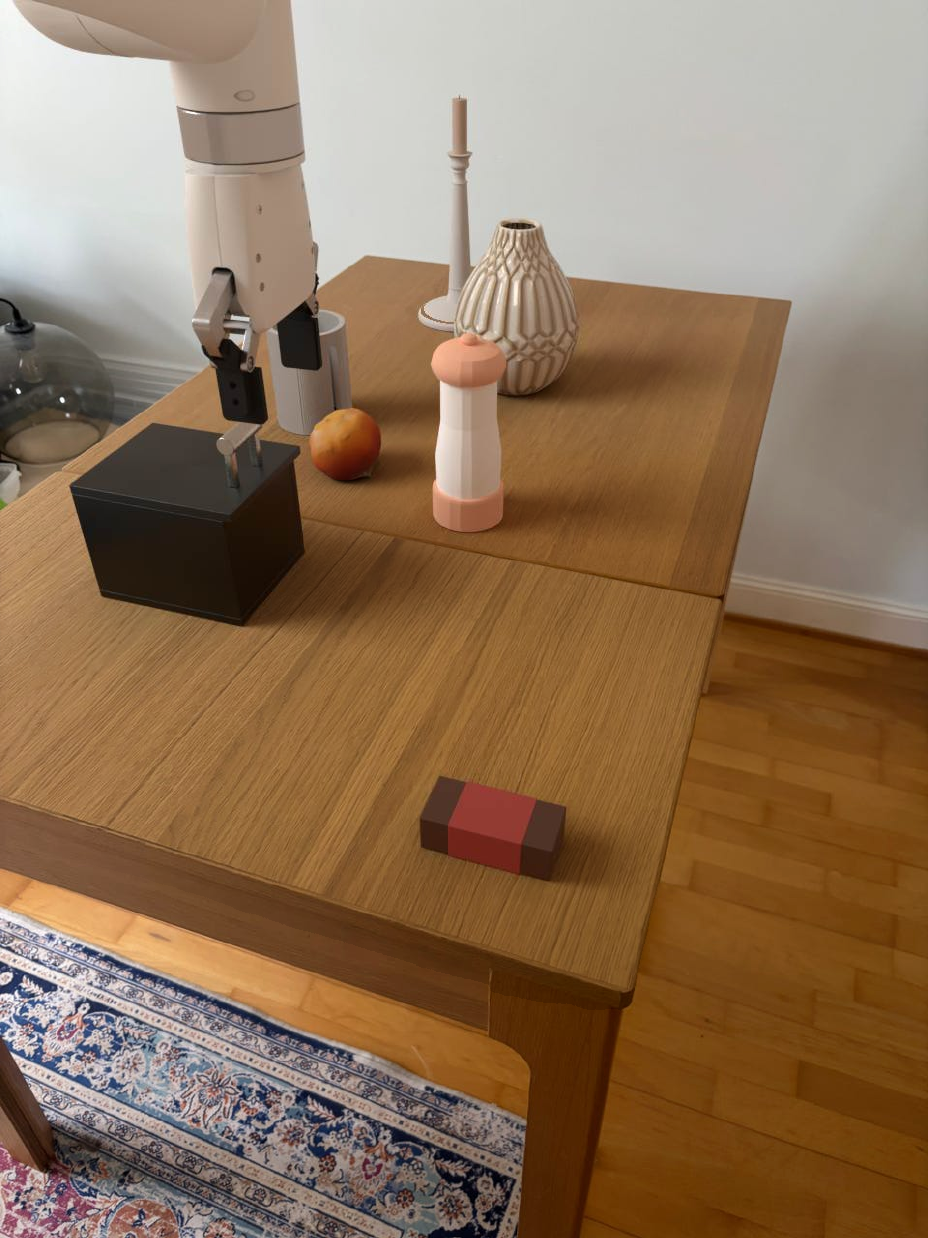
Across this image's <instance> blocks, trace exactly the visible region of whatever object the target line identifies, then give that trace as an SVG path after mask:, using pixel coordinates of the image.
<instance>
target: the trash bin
mask: <svg viewBox="0 0 928 1238" xmlns="http://www.w3.org/2000/svg"><path fill="white" fill-rule="evenodd" d="M71 498H72V500H73V503H74V507H75V511H76V515H77V518H78V522H79V524H80V528H81V532H82V535H83V539H84V542H85V545H86V549H87V552H88V556H89V559H90V563H91V566H92V570H93V573H94V576H95V581H96V583H97V587H98V589H99V593H100V596H101V597H102V598H108V599H112V600H117V601H120V602H126V603H131V604H135V605H140V606H145V607H149V608H155V609H158V610H164V611H167V612H168V611H169V612H173V613H176V614H177V613H178V614H182V615H187V616H192V617H196V618H200V619H205V620H211V621H215V622H219V623H225V624H229V625H233V626H238V627H243V626H244V625H245V624H246V623H247V622H248V621H249V619H250V618H251V617H252V616H253V615H254V614H255V612H256V611H257V610H258V609H259V608H260V606H261V605H262V604H263V603H264V601H265V600H266V599H267V598H268V597H269V595H271V593H272V592H273V591H274V590H275V588H276V587H277V586H278V585H279V584H280V583H281V581H282V580H283V579H284V578H285V577H286V576H287V574H288V573H289V572H290V570H291V569H292V568H294V566H295V564H297V562H298V561H299V560H300V559H301V557H302V556H303V555H304V554H305V553H306V549H305V541H304V540H305V539H304V533H303V532H304V531H303V523H302V515H301V509H300V508H301V507H300V499H299V492H298V484H297V476H296V469H295V460H294V461H293V462H292V463H291V464H290V465H289V466H288V467H287V468H286V469H285V470H284V471H283V472H282V473H281V474H280V475H279V476H278V477H277V478H276V479H275V480H274V481H273V482H272V483H271V484H270V485H269V486H268V487H267V488H266V489H265V490H264V491H263V492H262V493H261V494H260V495H259V496H258V497H257V498H256V499H255V500H254V501H253V502H252V503H251V504H250V505H249V506H248V507H247V508H246V509H245V510H244V511H243V512H242V513H241V514H240V515H239V516H238V517H237V518H236V519H235V520H234V521H233V522H232V523H231V522H225V521H220V520H214V519H209V518H204V517H198V516H193V515H187V514H182V513H176V512H171V511H166V510H160V509H155V508H149V507H144V506H138V505H133V504H128V503H122V502H117V501H111V500H106V499H100V498H95V497H90V496H84V495H79V494H73V493H71Z"/></svg>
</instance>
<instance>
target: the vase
mask: <svg viewBox="0 0 928 1238" xmlns="http://www.w3.org/2000/svg"><path fill="white" fill-rule="evenodd" d="M573 292H574V291H573V290H572V286H571V285H570V282H569V280H568V278H567V276H566V275H565V272H564V271H563V268H562V267H561V266H560V263H558V261H557V260H556V258H555V256H554V255H553V254H552V252H551V250H550V249H549V246H548V243H547V239H546V236H545V231H544V227H543V225H542V223H541V222H539V221H537V220H534V219H530V218H518V217H517V218H516V217H515V218H508V219H503V220H500V221H499V222H498V223H497V224H496V226H495V229H494V231H493V235H492V238H491V241H490V243H489V246H488V248H487V250H486V251H485V253H484V254H483V256H481V258H480V259H479V261H478V262H477V263H476V265H475V266H474V268H473V269H472V270H471V274H470V276H469V277H468V279H467V281H466V283H465V285H464V287H463V289H462V292H461V294H460V297H459V300H458V304H457V308H456V312H455V317H454V332H453V337H454V338H458V337H461V336H462V335H463V334H465V333H473V334H475V335H476V337H480V338H483V339H486V340H489V341H492V342H494V343H496V344H497V345H498V346H499V347H500V349H501V350H502V352H503V353H504V355H505V359H506V368H505V371H504V373H503V375H502V377H501V378H500V379H499V380H498V381H497V394H500V395H505V396H506V395H507V396H524V395H525V396H526V395H531V394H535V393H537V392H540V391H542V390H543V389H545V388H547V387H548V386H549V385H552V383H554V382H555V381H556V380H557V379H558V378H559V377H560V376H562V374H563V373H564V371H565V370H566V368H567V367H568V365H569V364H570V361H571V360H572V358H573V355H574V354H575V351H576V350H575V349H576V347H577V344H578V343H577V342H578V338H579V331H580V321H579V313H578V307H577V302H576V299H575V296H574V293H573ZM454 338H453V339H454Z"/></svg>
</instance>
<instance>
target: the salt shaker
mask: <svg viewBox="0 0 928 1238" xmlns="http://www.w3.org/2000/svg"><path fill="white" fill-rule="evenodd" d="M430 367H431V369H432V372H433V373H434V375H435V377H436V379H437V380H438V381H439V413H440V414H439V416H440V417H439V418H440V420H439V427H438V434H437V440H436V446H435V452H434V459H435V462H434V463H435V477H436V478H435V479H434V481H433V483H432V484H433V485H432V517H433V519H434V521H435V522H436V523H437V524H438V525H440V526H441V527H444V528H446V529H447V530H450V531H456V532H459V533H475V532H483V531H486V530H490V529H492V528H494V527H495V526H497V525H498V524H499V523H500V522H501V521H502V520H503V517H504V493H505V492H504V487H505V485H504V482H503V481H502V479H501V468H502V455H503V454H502V451H503V450H502V446H501V445H502V444H501V439H500V430H499V425H498V417H497V416H498V415H497V414H498V411H497V410H498V393H497V381H498V380H499V379H500V378H501V377H502V375H503V373H504V371H505V368H506V359H505V355H504V353H503V352H502V350H501V349H500V347H499V346H498V345H497V344H496V343H494V342H492V341H489V340H486V339H483V338H480V337H476V335H475V334H473V333H465V334H463V335H462V336H461V337H458V338H450V339H449V340H446V341H443V342H441V343H440V344H439V345H438V346H437V347H436V349H435V350H434V351H433V355H432V359H431V362H430Z"/></svg>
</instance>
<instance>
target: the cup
mask: <svg viewBox="0 0 928 1238" xmlns="http://www.w3.org/2000/svg"><path fill="white" fill-rule="evenodd" d="M312 317H315V318H318V324H319V335H320V345H321V356H322V367H321V368H320V369H319V370H317V371H313V370H304V369H296V368H287V367H284V366H283V365H282V363H281V355H280V347H279V338H278V330H277V324H276V325H274V326H273V327H272V328H270V329H269V330H267V331H266V332H265V334H266V340H267V341H266V342H267V349H268V350H267V351H268V356H269V362H270V372H271V379H272V387H273V394H274V402H275V408H276V416H277V423H278V425H279V427H280V428H281V429H282V430H284V431H286V432H288V433H291V434H294V435H301V436H310V435H311V433H312V432H313V430H314V428H315V425H316V424H318V423H319V422H320V421H322V420H323V419H324V418H325V417H326V416H327V415H329V414H331V413H333V412H334V411H335V408H336V411H337V410H343V409H350V408H353V402H352V389H351V375H350V363H349V362H350V361H349V350H348V339H347V325H346V319H345V317H344V316H343V315H342V314H340V313H339V312H335V311H332V310H327V309H321V308H319V313H318V315H317V316H312Z"/></svg>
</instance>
